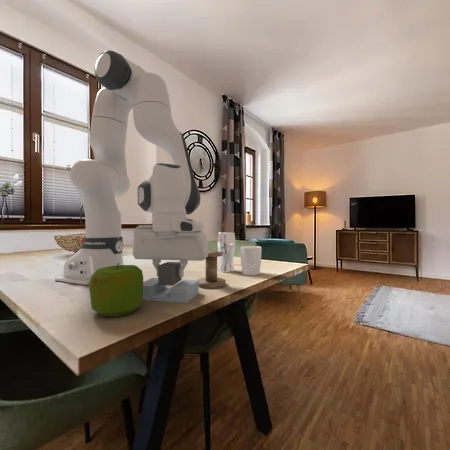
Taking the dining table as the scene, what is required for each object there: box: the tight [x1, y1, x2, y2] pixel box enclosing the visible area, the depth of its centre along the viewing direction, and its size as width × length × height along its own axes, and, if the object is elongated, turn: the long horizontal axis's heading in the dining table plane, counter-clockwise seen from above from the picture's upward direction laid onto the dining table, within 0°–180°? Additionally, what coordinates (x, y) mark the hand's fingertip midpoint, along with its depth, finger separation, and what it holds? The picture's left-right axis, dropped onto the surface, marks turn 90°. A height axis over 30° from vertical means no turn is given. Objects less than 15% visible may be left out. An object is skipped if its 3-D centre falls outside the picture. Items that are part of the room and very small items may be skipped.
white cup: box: [239, 245, 262, 276], centre depth 98 cm, size 8×8×10 cm
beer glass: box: [217, 231, 236, 273], centre depth 103 cm, size 7×7×15 cm
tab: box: [157, 261, 183, 287], centre depth 70 cm, size 4×6×5 cm, turn 168°
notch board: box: [142, 277, 200, 304], centre depth 69 cm, size 14×9×4 cm, turn 77°
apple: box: [88, 263, 144, 318], centre depth 58 cm, size 11×11×11 cm
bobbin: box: [197, 250, 227, 290], centre depth 81 cm, size 9×9×10 cm
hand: (170, 276), depth 70 cm, fingers closed on tab, 4 cm apart
